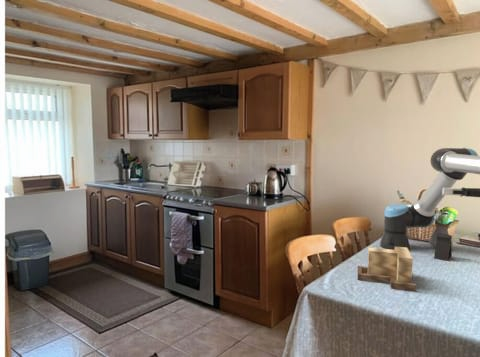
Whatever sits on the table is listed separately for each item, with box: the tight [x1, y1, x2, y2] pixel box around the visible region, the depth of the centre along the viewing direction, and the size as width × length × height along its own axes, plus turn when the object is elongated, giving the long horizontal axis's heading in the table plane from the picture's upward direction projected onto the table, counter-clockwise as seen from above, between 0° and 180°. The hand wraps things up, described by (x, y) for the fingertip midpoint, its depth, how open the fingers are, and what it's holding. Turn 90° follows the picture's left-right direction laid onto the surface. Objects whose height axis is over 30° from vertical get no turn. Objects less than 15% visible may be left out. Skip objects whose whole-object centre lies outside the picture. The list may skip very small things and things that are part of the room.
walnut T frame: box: [357, 265, 417, 293], centre depth 154 cm, size 22×22×2 cm
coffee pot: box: [428, 217, 453, 249], centre depth 206 cm, size 21×12×15 cm, turn 151°
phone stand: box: [433, 233, 453, 262], centre depth 183 cm, size 9×6×12 cm, turn 138°
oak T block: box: [367, 247, 414, 283], centre depth 154 cm, size 16×16×12 cm
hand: (443, 191), depth 148 cm, fingers closed
